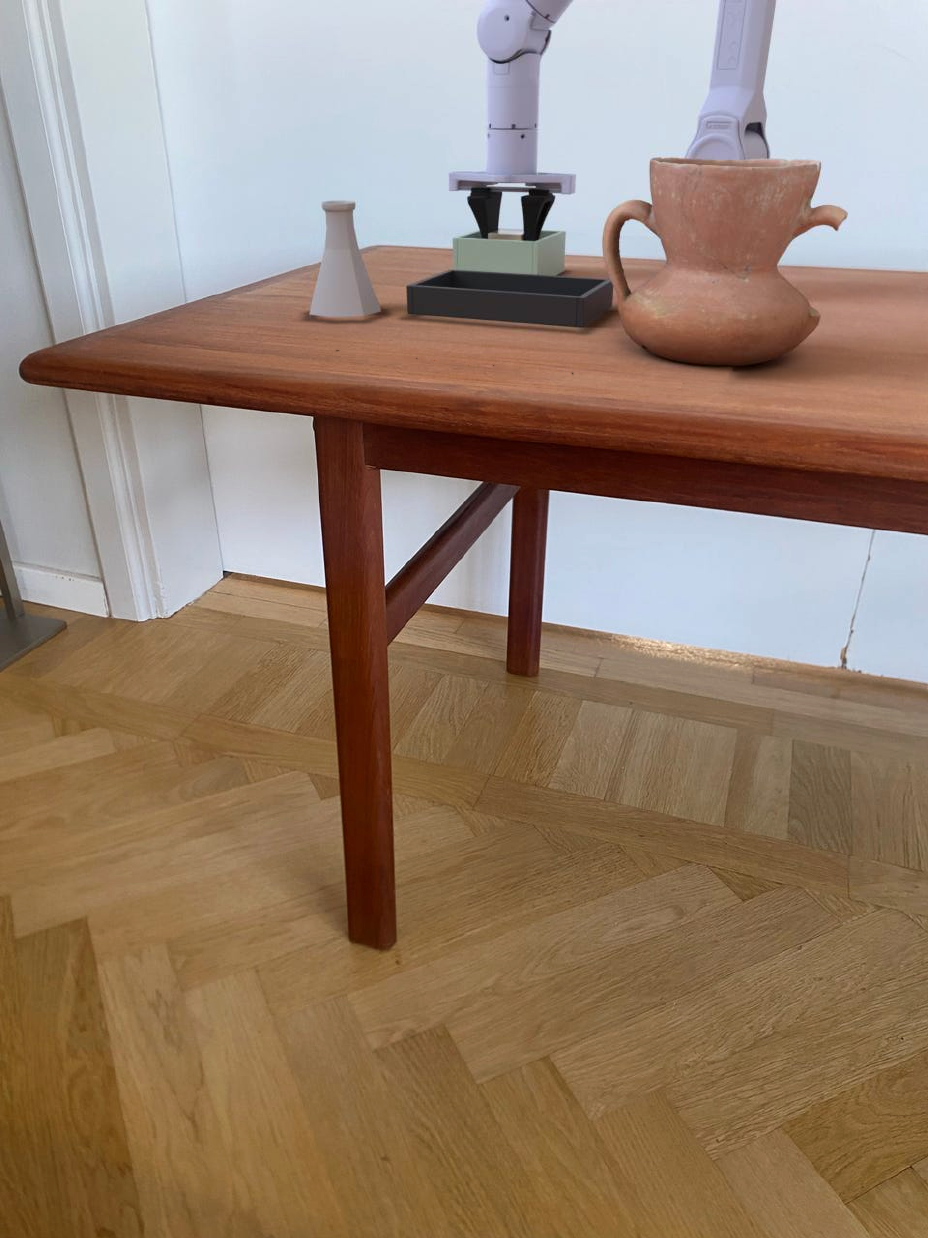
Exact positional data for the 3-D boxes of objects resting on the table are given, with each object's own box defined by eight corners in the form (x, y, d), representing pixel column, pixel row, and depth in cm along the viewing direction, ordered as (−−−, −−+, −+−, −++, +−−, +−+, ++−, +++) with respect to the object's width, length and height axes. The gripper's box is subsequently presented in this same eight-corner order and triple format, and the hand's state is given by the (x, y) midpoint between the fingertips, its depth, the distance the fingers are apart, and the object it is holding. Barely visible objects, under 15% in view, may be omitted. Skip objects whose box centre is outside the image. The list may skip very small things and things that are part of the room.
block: (531, 266, 110) (532, 230, 108) (520, 272, 106) (521, 234, 104) (499, 265, 111) (500, 229, 109) (487, 270, 108) (488, 233, 106)
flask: (371, 323, 86) (364, 206, 81) (297, 320, 87) (286, 205, 82) (391, 308, 92) (387, 198, 87) (322, 306, 93) (314, 197, 88)
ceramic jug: (835, 347, 76) (870, 155, 70) (802, 390, 65) (840, 167, 58) (626, 327, 84) (640, 151, 77) (565, 362, 73) (574, 161, 66)
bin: (564, 271, 111) (565, 230, 109) (536, 285, 103) (538, 241, 101) (485, 266, 115) (485, 227, 113) (452, 279, 107) (452, 237, 104)
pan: (611, 311, 90) (614, 279, 89) (582, 332, 82) (584, 297, 81) (449, 299, 96) (449, 269, 95) (407, 318, 88) (406, 285, 86)
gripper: (436, 129, 101) (439, 261, 107) (564, 130, 96) (558, 268, 103) (461, 127, 106) (462, 253, 113) (583, 128, 102) (577, 259, 108)
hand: (509, 260), depth 108 cm, fingers closed on block, 4 cm apart
